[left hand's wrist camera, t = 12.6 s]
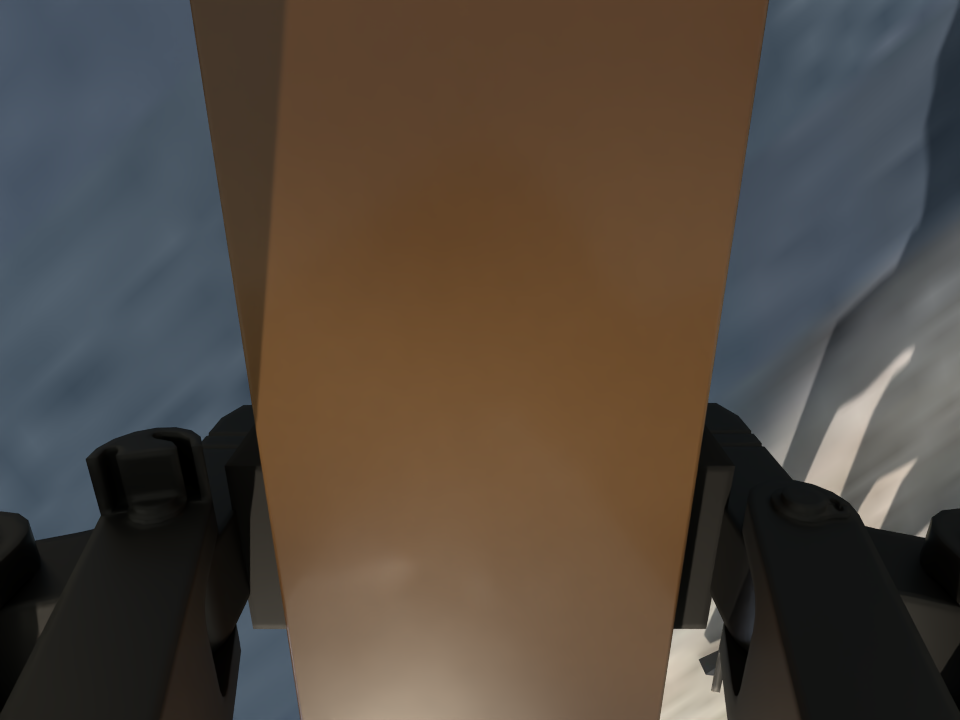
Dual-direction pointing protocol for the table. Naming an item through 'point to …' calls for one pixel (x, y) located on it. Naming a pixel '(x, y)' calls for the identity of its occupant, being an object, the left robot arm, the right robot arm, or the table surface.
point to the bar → (479, 331)
